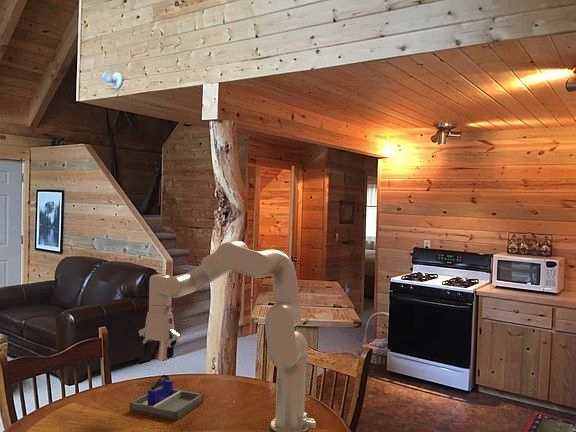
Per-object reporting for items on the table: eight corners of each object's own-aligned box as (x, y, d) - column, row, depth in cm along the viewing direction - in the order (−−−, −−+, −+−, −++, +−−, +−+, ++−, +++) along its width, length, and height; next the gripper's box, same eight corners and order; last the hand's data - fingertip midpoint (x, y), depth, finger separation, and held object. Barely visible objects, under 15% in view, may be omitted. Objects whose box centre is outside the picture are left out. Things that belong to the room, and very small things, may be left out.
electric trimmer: (147, 394, 194) (147, 386, 194) (161, 380, 209) (161, 373, 209) (156, 395, 193) (157, 387, 193) (170, 381, 209) (170, 373, 209)
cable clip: (161, 395, 189) (162, 379, 189) (172, 396, 188) (172, 380, 188) (143, 406, 178) (144, 389, 178) (154, 408, 177) (155, 391, 176)
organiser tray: (203, 402, 186) (203, 394, 186) (175, 421, 170) (175, 412, 169) (160, 394, 193) (160, 386, 193) (129, 411, 176) (129, 402, 176)
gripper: (185, 309, 183) (184, 356, 183) (146, 304, 189) (145, 350, 189) (173, 313, 176) (172, 361, 176) (133, 308, 182) (132, 355, 182)
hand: (158, 355), depth 183 cm, fingers open, 9 cm apart
